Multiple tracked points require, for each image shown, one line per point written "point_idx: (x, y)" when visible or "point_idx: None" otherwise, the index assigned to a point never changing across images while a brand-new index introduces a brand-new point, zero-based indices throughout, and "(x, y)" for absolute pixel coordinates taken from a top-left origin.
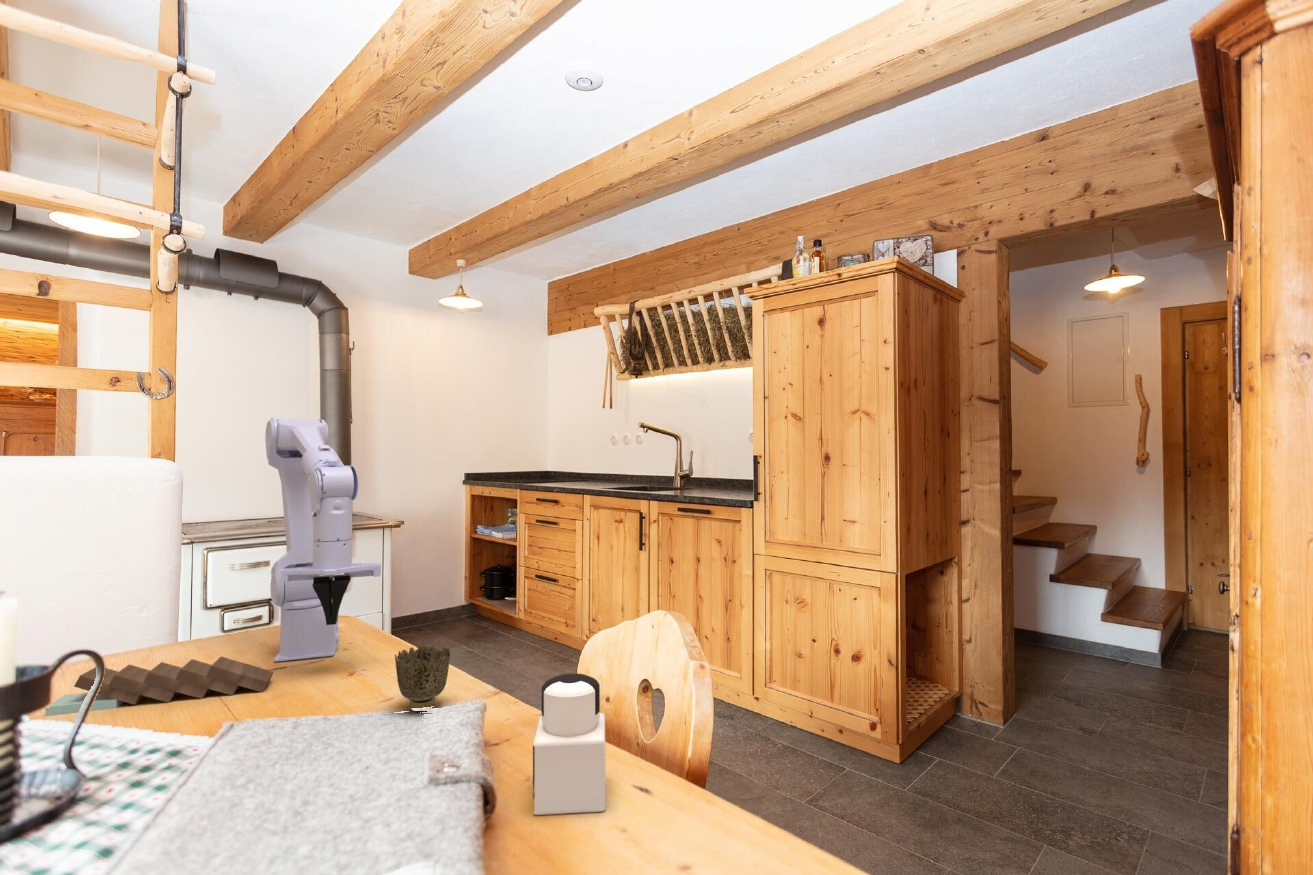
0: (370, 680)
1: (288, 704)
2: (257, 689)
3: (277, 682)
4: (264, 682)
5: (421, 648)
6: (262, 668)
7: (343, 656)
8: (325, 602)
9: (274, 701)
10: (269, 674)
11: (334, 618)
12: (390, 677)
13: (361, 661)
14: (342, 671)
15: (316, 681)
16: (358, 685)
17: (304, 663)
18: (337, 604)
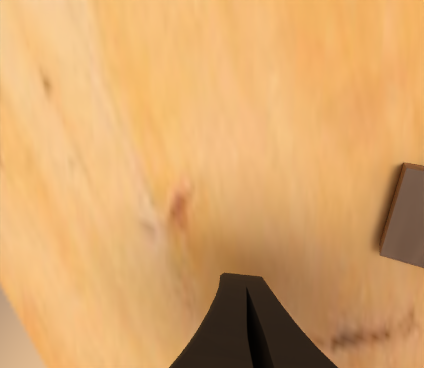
0: (127, 123)
1: (347, 6)
2: (419, 165)
3: (361, 227)
4: (411, 169)
5: None
6: (416, 265)
7: None
8: (296, 353)
9: (380, 58)
10: (395, 229)
11: (227, 282)
12: (72, 123)
13: (155, 303)
14: (202, 242)
15: (267, 187)
16: (159, 91)
17: None
18: (211, 328)
